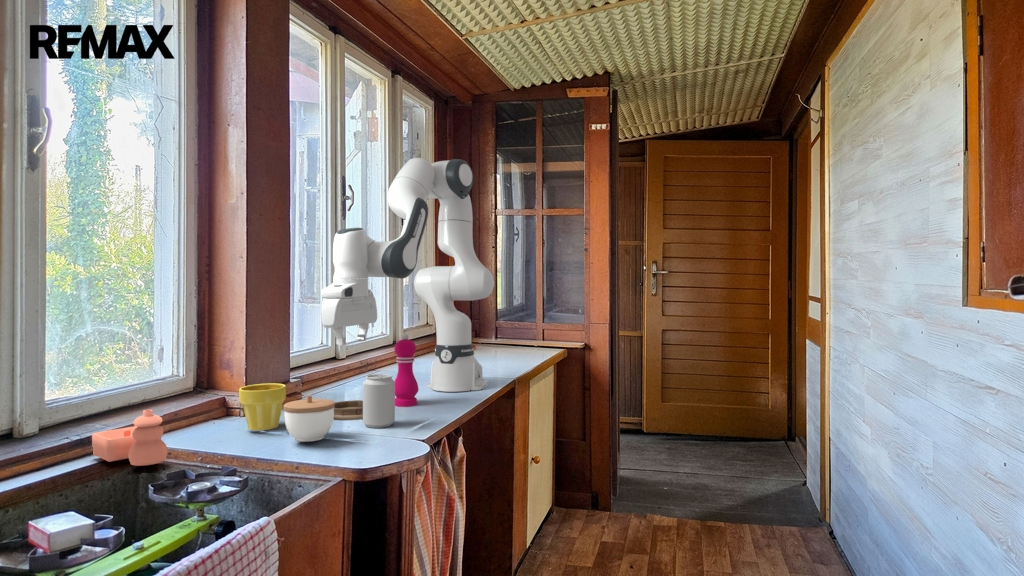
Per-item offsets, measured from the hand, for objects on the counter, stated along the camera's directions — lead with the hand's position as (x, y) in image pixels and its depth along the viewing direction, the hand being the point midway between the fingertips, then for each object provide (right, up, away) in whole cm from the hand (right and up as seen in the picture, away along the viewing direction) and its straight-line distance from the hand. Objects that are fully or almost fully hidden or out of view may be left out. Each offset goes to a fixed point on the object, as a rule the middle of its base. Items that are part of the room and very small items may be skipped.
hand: (351, 342), depth 165 cm
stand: (0, -19, 0) cm, 19 cm away
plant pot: (-17, -19, -15) cm, 30 cm away
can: (+10, -19, -13) cm, 25 cm away
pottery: (-33, -19, -39) cm, 55 cm away
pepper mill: (+12, -19, +13) cm, 26 cm away
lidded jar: (-3, -19, -26) cm, 32 cm away
